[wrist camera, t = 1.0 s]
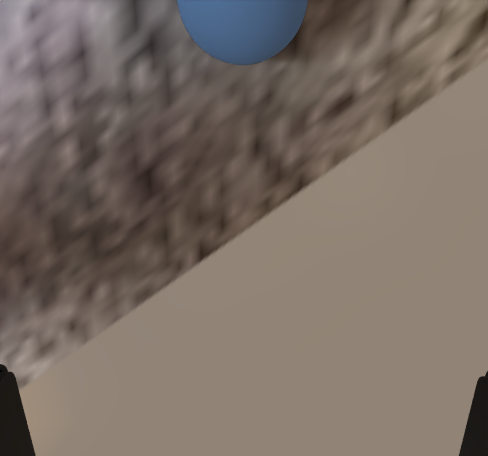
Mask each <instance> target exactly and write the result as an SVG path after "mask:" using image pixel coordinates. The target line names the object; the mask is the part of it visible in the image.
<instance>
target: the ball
mask: <svg viewBox="0 0 488 456" xmlns="http://www.w3.org/2000/svg"><path fill="white" fill-rule="evenodd" d="M307 2H308V0H177V3H178V8H179V12H180V16H181V18H182V21H183V24H184V26H185V28H186V30H187V31H188V33H189V34H190V36H191V38H192V39H193V40H194V41H195V42H196V44H197V45H198V46H199V47H200V48H201V49H203V50H204V51H205V52H206V53H208V54H209V55H211V56H212V57H214V58H216V59H218V60H220V61H223V62H226V63H230V64H236V65H250V64H255V63H259V62H262V61H265V60H267V59H269V58H271V57H273V56H275V55H276V54H277V53H279V52H280V51H281V50H283V49H284V48H285V47H286V46H287V45H288V44H289V43H290V41H291V40H292V39H293V38H294V36H295V35H296V33H297V32H298V30H299V28H300V26H301V24H302V21H303V19H304V16H305V12H306V8H307Z"/></svg>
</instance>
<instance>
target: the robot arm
mask: <svg viewBox="0 0 488 456" xmlns="http://www.w3.org/2000/svg"><path fill="white" fill-rule="evenodd" d="M0 456H35V452H34V448H33V444H32V440H31V436H30V432H29V429H28V425H27V421H26V417H25V413H24V409H23V405H22V402H21V398H20V394H19V390H18V386H17V382H16V378H15V375H14V374H13V373H12V372H8V370H7V368H6V367H5V366H4V365H2V364H0ZM459 456H488V371H487V373H486V375H485V376H484V377H483V376H482V377H480V378H479V379H478V381H477V385H476V389H475V393H474V398H473V401H472V405H471V409H470V413H469V417H468V421H467V425H466V429H465V433H464V437H463V442H462V445H461V450H460V454H459Z"/></svg>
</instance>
